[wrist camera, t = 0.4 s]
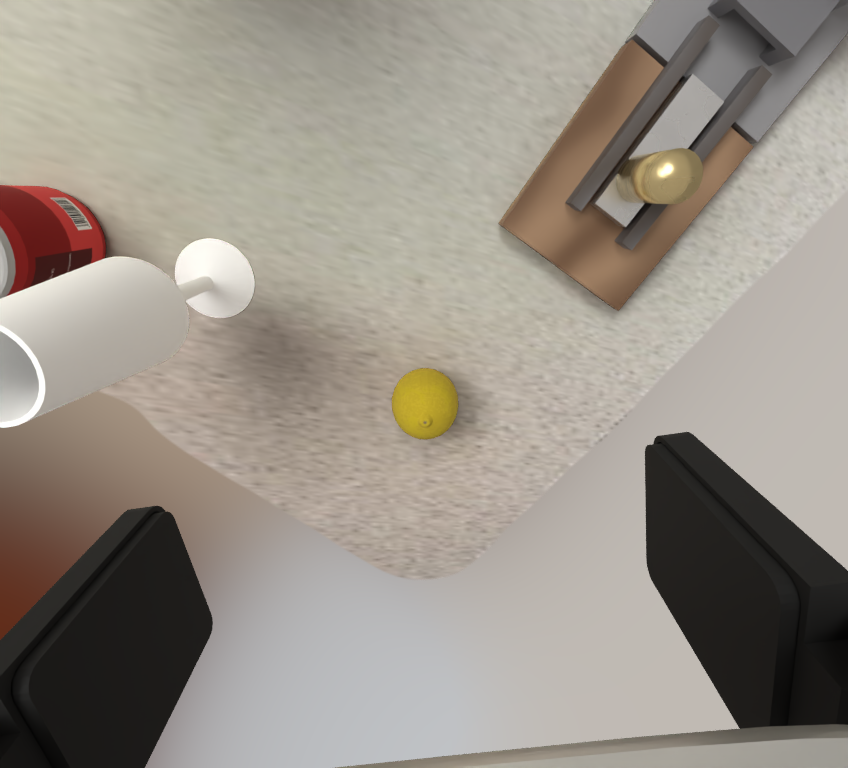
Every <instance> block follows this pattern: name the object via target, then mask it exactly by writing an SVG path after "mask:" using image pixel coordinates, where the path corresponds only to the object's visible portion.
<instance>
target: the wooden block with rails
mask: <svg viewBox="0 0 848 768" xmlns="http://www.w3.org/2000/svg"><path fill="white" fill-rule="evenodd" d="M719 26H720V25H719V24H718V23H717V22H716V21H715V20H714V19H713V18H712V17H711V16H707V17H705V18H704V19H702V20H701V21H699V22H697V23H696V25H695V26H694V27H693V29H692V30H691V31H690V33H689V34H688V35H687V37H686V38H685V40H684V41H683V42H682V44H681V45H680V46H679V48H678V49H677V51H676V52H675V53H674V55H673V56H672V57H671V59H670V60H669V61H668V63H667V64H666V66H665V67H663V66H662V65H661V64H659V63H658V62H657V61H656V60H655V59H654V58H653V57H652V56H650V55H649V54H648V53H647V52H646V51H645V50H644V49H643V48H641V47H640V46H639V45H638V44H637V43H636V42H635V41H634V40H630V41H629V42H628V43H626V44H625V45H624V46H622V47H621V49H620V50H619V51H618V53H617V54H616V56H615V57H614V59H613V60H612V61H611V63H610V64H609V66H608V67H607V69H606V70H605V72H604V73H603V74H602V76H601V77H600V79H599V80H598V82H597V83H596V84H595V86H594V87H593V89H592V90H591V92H590V93H589V94H588V96H587V97H586V99H585V100H584V102H583V103H582V104H581V106H580V107H579V109H578V110H577V112H576V113H575V114H574V116H573V117H572V119H571V120H570V122H569V123H568V124H567V126H566V127H565V129H564V130H563V132H562V133H561V134H560V136H559V137H558V139H557V140H556V142H555V143H554V145H553V146H552V147H551V149H550V150H549V152H548V153H547V155H546V156H545V157H544V159H543V160H542V162H541V163H540V165H539V166H538V167H537V169H536V170H535V172H534V173H533V175H532V176H531V177H530V179H529V180H528V182H527V183H526V185H525V186H524V187H523V189H522V190H521V192H520V193H519V195H518V196H517V197H516V199H515V200H514V202H513V203H512V205H511V206H510V207H509V209H508V210H507V212H506V213H505V215H504V216H503V217H502V219H501V220H500V222H499V223H498V224H500V225H501V226H502V227H504V228H505V229H507V230H508V231H509V232H511V233H512V234H513V235H515V236H516V237H517V238H519V239H520V240H521V241H523V242H524V243H526V244H527V245H528V246H530V247H531V248H532V249H534V250H535V251H536V252H538V253H539V254H540V255H542V256H543V257H544V258H546V259H547V260H549V261H550V262H551V263H553V264H554V265H555V266H557V267H558V268H559V269H561V270H562V271H563V272H565V273H566V274H567V275H569V276H570V277H572V278H573V279H574V280H576V281H577V282H578V283H580V284H581V285H582V286H584V287H585V288H586V289H588V290H589V291H590V292H592V293H593V294H595V295H596V296H597V297H599V298H600V299H601V300H603V301H604V302H605V303H607V304H608V305H609V306H611V307H613V308H614V309H616V310H618V311H619V309H620V308H621V307H622V306H623V305H624V303H625V302H626V301H627V300H628V299H629V297H630V296H631V295H632V294H633V292H634V291H635V290H636V289H637V288H638V286H639V285H640V284H641V283H642V282H643V280H644V279H645V278H646V277H647V276H648V274H649V273H650V272H651V271H652V269H653V268H654V267H655V266H656V265H657V263H658V262H659V261H660V260H661V259H662V257H663V256H664V255H665V254H666V252H667V251H668V250H669V249H670V248H671V246H672V245H673V244H674V243H675V242H676V240H677V239H678V238H679V237H680V236H681V234H682V233H683V232H684V231H685V229H686V228H687V227H688V226H689V225H690V223H691V222H692V221H693V220H694V219H695V217H696V216H697V215H698V214H699V212H700V211H701V210H702V209H703V208H704V206H705V205H706V204H707V203H708V202H709V200H710V199H711V198H712V197H713V196H714V194H715V193H716V192H717V191H718V189H719V188H720V187H721V186H722V185H723V183H724V182H725V181H726V180H727V179H728V177H729V176H730V175H731V174H732V172H733V171H734V170H735V169H736V168H737V166H738V165H739V164H740V163H741V162H742V160H743V159H744V158H745V157H746V156H747V154H748V153H749V152H750V151H751V149H752V148H753V146H752V145H751V144H750V143H749V142H747V141H746V140H745V139H744V138H743V137H742V136H741V135H740V134H738V133H737V132H736V131H735V130H734V129H733V128H732V127H731V126H732V124H733V123H734V122H735V121H736V119H737V118H738V117H739V116H740V114H741V113H742V112H743V111H744V109H745V108H746V107H747V106H748V104H749V103H750V102H751V101H752V99H753V98H754V97H755V96H756V94H757V93H758V92H759V91H760V89H761V88H762V87H763V86H764V84H765V83H766V82H767V81H768V79H769V78H770V77H771V76H772V74H771V73H770V72H769V71H768V70H767V69H766V68H765V67H764V66H763V65H761V66H758V67H755V68H753V69H750V70H748V71H747V72H746V74H745V75H744V76H743V77H742V79H741V80H740V81H739V82H738V84H737V85H736V86H735V88H734V89H733V90H732V91H731V93H730V94H729V95H728V96H727V98H726V99H725V100H724V103H723V104H722V105H721V107H720V108H719V109H718V110H717V112H716V113H715V114H714V116H713V117H712V118H711V119H710V121H709V122H708V123H707V124H706V126H705V127H704V128H703V130H702V131H701V132H700V133H699V135H698V136H697V137H696V139H695V140H694V141H693V142H692V144H691V145H690V146H689V147H688V149H689V150H691V151H693V152H695V153H696V154H697V155H698V157H699V158H700V160H701V162H702V166H703V177H702V181H701V184H700V186H699V188H698V189H697V191H696V192H695V193H694V194H693V195H692V196H691V197H690V198H689V199H687V200H686V201H684V202H681V203H678V204H653V203H645V204H644V205H643V206H642V207H641V209H640V210H639V211H638V212H637V214H636V215H635V216H634V218H633V219H632V220H631V221H630V223H629V224H628V225H627V226H626V227H621V226H618V225H617V224H615V223H614V222H613V221H611V220H610V219H609V218H608V217H606V216H605V215H604V214H603V213H601V212H600V211H599V210H597V209H596V208H595V207H594V206H592V205H591V204H590V203H589V202H590V201H591V200H592V198H593V197H594V196H595V194H596V193H597V192H598V190H599V189H600V188H601V186H602V185H603V184H604V182H605V181H606V180H607V178H608V177H609V176H610V174H611V173H612V172H613V170H614V169H615V168H616V166H617V165H618V164H619V162H620V161H621V160H622V158H623V157H624V156H625V154H626V153H627V152H628V150H629V149H630V147H631V146H632V145H633V143H634V142H635V141H636V139H637V138H638V137H639V135H640V134H641V133H642V131H643V130H644V129H645V127H646V126H647V125H648V123H649V122H650V121H651V119H652V118H653V117H654V115H655V114H656V113H657V111H658V110H659V109H660V107H661V106H662V105H663V103H664V102H665V101H666V99H667V98H668V97H669V95H670V94H671V93H672V91H673V90H674V89H675V87H676V86H677V85H678V83H679V82H680V81H679V80H680V78H681V77H682V75H683V74H684V73H685V71H686V70H687V69H688V67H689V66H690V65H691V63H692V62H693V61H694V59H695V58H696V57H697V55H698V54H699V53H700V51H701V50H702V49H703V47H704V46H705V45H706V43H707V42H708V41H709V39H710V38H711V37H712V35H713V34H714V33H715V31H716V30H717V29H718V27H719Z"/></svg>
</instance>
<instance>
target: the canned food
mask: <svg viewBox="0 0 848 768" xmlns="http://www.w3.org/2000/svg"><path fill="white" fill-rule="evenodd" d="M105 254H106V243H105V237H104V234H103V231H102V229H101V226H100V224H99V223H98V221H97V219H96V218H95V216H94V215H93V214H92V213H91V211H90V210H89V209H88V208H87V207H85V206H84V205H83V204H82V203H81V202H79V201H78V200H76V199H75V198H74V197H72V196H69V195H67V194H65V193H63V192H61V191H59V190H56V189H52V188H49V187H40V186H9V185H0V299H1V298H3V297H6V296H9V295H11V294H14V293H16V292H19V291H21V290H24V289H27V288H29V287H32V286H34V285H37V284H40V283H42V282H45V281H47V280H50V279H53V278H55V277H58V276H60V275H63V274H66V273H68V272H71V271H73V270H76V269H79V268H81V267H84V266H86V265H89V264H91V263H94V262H97V261H99V260H102V259H104V258H105Z"/></svg>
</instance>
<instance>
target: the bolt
mask: <svg viewBox="0 0 848 768" xmlns="http://www.w3.org/2000/svg"><path fill="white" fill-rule="evenodd" d="M723 103H724V101H723V100H722V99H721V98H719V97H718V96H717V95H716V94H715V93H714V92H713V91H712V90H710V89H709V88H708V87H707V86H706V85H705V84H704V83H703V82H702V81H700V80H699V79H698V78H697V77H696V76H695V75H694V74H691V75H689V76H686V77H684V78H682V79H681V81H680V82H679V83H678V85H677V86H676V87H675V89H674V90H673V91H672V93H671V94H670V95H669V97H668V98H667V99H666V101H665V102H664V103H663V105H662V106H661V107H660V109H659V110H658V111H657V113H656V114H655V115H654V117H653V118H652V119H651V121H650V122H649V123H648V125H647V126H646V127H645V129H644V130H643V131H642V133H641V134H640V135H639V137H638V138H637V139H636V141H635V142H634V143H633V145H632V146H631V147H630V149H629V150H628V152H627V153H626V154H625V156H624V157H623V158H622V160H621V161H620V162H619V164H618V165H617V166H616V168H615V169H614V170H613V172H612V173H611V174H610V176H609V177H608V178H607V180H606V181H605V182H604V184H603V185H602V186H601V188H600V189H599V190H598V192H597V193H596V194H595V196H594V197H593V198H592V200H591V201H590V202H589V203H590V204H591V205H592V206H594V207H595V208H596V209H597V210H599V211H600V212H601V213H603V214H604V215H605V216H606V217H608V218H609V219H610V220H611V221H613V222H614V223H615V224H617V225H618V226H621V227H626V226H627V225H628V224H629V223H630V221H631V220H632V219H633V218H634V216H635V215H636V214H637V212H638V211H639V210H640V209H641V207H642V206H643V205H644V204H645V203H653V204H678V203H681V202H684V201H686V200H687V199H689V198H690V197H691V196H692V195H693V194H694V193H695V192H696V191H697V189H698V188H699V186H700V184H701V181H702V177H703V166H702V162H701V160H700V158H699V157H698V155H697V154H696V153H695V152H693V151H691V150H689V149H688V147H689V146H690V145H691V144H692V142H693V141H694V140H695V139H696V137H697V136H698V135H699V133H700V132H701V131H702V130H703V128H704V127H705V126H706V124H707V123H708V122H709V121H710V119H711V118H712V117H713V116H714V114H715V113H716V112H717V110H718V109H719V108H720V107H721V105H722V104H723Z"/></svg>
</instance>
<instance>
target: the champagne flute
mask: <svg viewBox="0 0 848 768" xmlns="http://www.w3.org/2000/svg"><path fill="white" fill-rule="evenodd" d="M175 279H176V283H175V282H174V281H173V280H172V279H171V278H170V277H169V276H168V275H167V274H166V273H165V272H164V271H162V270H161V269H159V268H158V267H156V266H154V265H153V264H151V263H148V262H146V261H143V260H140V259H136V258H131V257H116V256H115V257H110V258H105V259H102V260H99V261H97V262H94V263H91V264H89V265H86V266H84V267H81V268H79V269H76V270H73V271H71V272H68V273H66V274H63V275H60V276H58V277H55V278H53V279H50V280H47V281H45V282H42V283H40V284H37V285H34V286H32V287H29V288H27V289H24V290H21V291H19V292H16V293H14V294H11V295H9V296H6V297H3V298H1V299H0V427H12V426H17V425H19V424H21V423H24V422H27V421H29V420H31V419H34V418H36V417H38V416H40V415H43V414H45V413H47V412H50V411H52V410H54V409H57V408H59V407H61V406H64V405H66V404H68V403H70V402H73V401H75V400H77V399H80V398H82V397H84V396H87V395H89V394H91V393H93V392H96V391H98V390H100V389H103V388H105V387H107V386H110V385H112V384H114V383H117V382H119V381H121V380H123V379H126V378H128V377H130V376H133V375H135V374H137V373H140V372H142V371H144V370H146V369H149V368H151V367H153V366H156V365H158V364H160V363H163V362H165V361H167V360H168V359H170V358H171V357H172V356H174V355H175V354H176V353H177V351H178V350H179V349H180V348H181V346H182V345H183V343H184V341H185V339H186V337H187V334H188V330H189V319H190V318H189V311H188V306H187V304H186V302H187V303H188V304H189V305H190V306H191V307H192V308H193V309H195V310H196V311H198V312H200V313H201V314H204V315H206V316H209V317H214V318H227V317H232V316H234V315H236V314H238V313H240V312H241V311H243V310H244V309H245V308H246V307H247V306H248V304H249V303H250V301H251V299H252V297H253V293H254V288H255V280H254V274H253V271H252V268H251V266H250V264H249V262H248V260H247V259H246V257H245V256H244V255H243V254H242V253H241V252H240V251H239V250H238V249H237V248H236V247H234V246H233V245H231V244H229V243H227V242H225V241H222V240H218V239H213V238H205V239H200V240H197V241H194V242H192V243H190V244H189V245H188V246H186V247H185V248H184V249H183V251H182V252H181V253H180V255H179V257H178V259H177V262H176V266H175ZM176 284H177V285H176Z"/></svg>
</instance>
